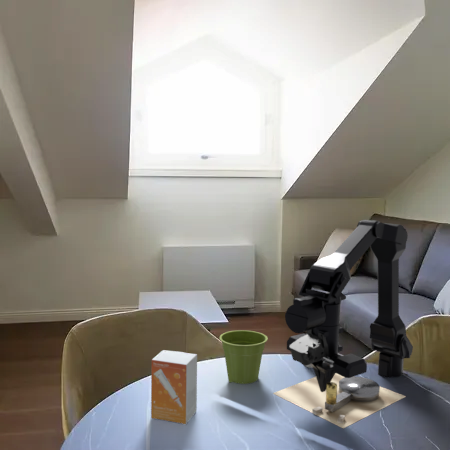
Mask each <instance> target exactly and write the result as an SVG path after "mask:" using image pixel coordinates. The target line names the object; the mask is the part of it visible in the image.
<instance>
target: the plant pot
mask: <svg viewBox="0 0 450 450" xmlns="http://www.w3.org/2000/svg"><path fill="white" fill-rule="evenodd" d="M219 340H220V342H221V344H222V350H223V352H224V359H225V366H226V373H227V379H228V380H227V381H228V382H229V383H235V384H241V385H246V384H247V385H248V384H252V383H255V382H258V380H259V375H260V368H261V365H262V359H263V351H264V350H265V345H266V342H267V341H268V335H266V334H264V333H262V332H258V331H255V330H254V331H253V330H241V329H238V330H230V331H226V332H224V333H221V334H220V336H219Z"/></svg>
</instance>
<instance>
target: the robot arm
mask: <svg viewBox="0 0 450 450" xmlns="http://www.w3.org/2000/svg"><path fill="white" fill-rule="evenodd" d="M407 241H408V231H407V229H406V228H405V227H404V225H402V224H395V223H386V222H382V221H381V222H380V221H379V220H373V219H362V220H359V221H358V223H357V225H356V228H355V229H354V230H353V231H352V232H351V233H350V234H349V236H347V237H346V239H345V240H343V242H342V243H341V244H340V246H339V247H338V248H337V249H336V250H334V252H333V253H331V254H330V255H327V256H324V257H321V258H320V259H318V260H317V261H316V262H314V263H313V264H312V265H311V267H310V268H309V270H308V273H307V275H306V276H305V280H304V282H303V284H302V287H301V288H300V290H299V291H298V296H300V297H295V298H293V300H292V301H293V302H292V303H293V304H292V305H290V306H288V307H287V309H286V311H285V313H284V318H285V319H284V320H285V324H286V325H287V327H288V329H290V331H292V332H293V333H295V334H297V335H291V336H290V337H289V338H288V339H287V340H286V350H287V351H290V353H291V357H292V360H293V361H295V362H298V363H300V364H301V365H303V366H304V365H309V364H310V365H311V366H312V367H313V368H312V369H313V372H314V374H315V377H316V378H317V381H318V384H319V388H320V391H321V392H324V391H326V385H327V383H328V382H331V380H332V378H333V376H334V375H335V373H337V374H339V375H341V376H343V377H345V378H351V377H354V376H355V377H358V376H359V375H362V374H366V373H367V367H368V364H367V363H368V362H367V361H366V359H365V358H363V357H360V356H358V355H356V354H353V353H348V354H345V355H344V354H341V353H339V352H343V348H344V347H343V345H341V344H340V342H339V341H340V334H341V333H344V326H343V327H342V326H341V301H344V300H346V299H347V295H345V293H343V291H344V290H345V288H346V287H347V285H348V283H349V282H350V280H351V271H352V269H353V267H354V266H355V265H356V263H357V262H358V261H359V260H360V259H361V257H362V256H363V255H364V254H365V253H366V251H367V250H368V249H369V248H370V250H371V252H372V254H373V255H374V257H375V258H376V260H377V316H376V318H375V319H374V321H373V322H371V323H370V324H369V330H370V332H369V340H370V343H371V349H372V351H375V352H378V365H377V366H378V368H377V375H378V376H380V377H384V378H398V377H402V376H408V377H409V374H408V373H406V372H404V361H405V359H410V358H411V356H412V353H413V350H414V347H413V344H412V342H411V341H410V340H409V338H408V336H407V329H406V328H407V327H406V324H405V323H404V321H403V320H402V318H401V316H400V313H399V312H400V310H399V309H400V305H399V304H400V303H399V300H400V297H399V296H400V295H399V288H400V287H399V286H400V285H399V284H400V283H399V279H400V275H399V274H400V273H399V269H400V267H399V265H400V263H399V262H400V261H399V260H400V258H401V256H402V255H403V253H404V252H405V251H406V249H407V248H406V247H407ZM304 332H306V333H304Z"/></svg>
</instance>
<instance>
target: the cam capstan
mask: <svg viewBox="0 0 450 450" xmlns="http://www.w3.org/2000/svg"><path fill="white" fill-rule="evenodd" d="M379 390H380V385H379V383H378V382H377V381H375V380H373V379H371V378H368V377H363V376H355V377H351V378H342V379H341V380H340V381H339V393H340V394H338V395H337V384H336V383H334V382H328V383H327V385H326V402H325V409H326V410H328V411H331V412H334V411H336V410H337V409H339V408H341V407H342V406H344V405H346V404H347V403H349V402H351V400H353V401H358V402H371V401H375V400H377V399H378V398H379Z"/></svg>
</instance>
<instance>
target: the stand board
mask: <svg viewBox="0 0 450 450" xmlns="http://www.w3.org/2000/svg"><path fill="white" fill-rule="evenodd" d="M354 377H356V376H354ZM342 378H345V377H343V376H341V375H339V374H337V373H335V375H334V376H333V378H332V380H331V382H334V383H336V384H337V395H338V394H340V393H339V381H340V380H341V379H342ZM379 386H380V385H379ZM272 394H273V395H275V396H277V397H279V398H281V399H283V400H285V401H287V402H289V403H292V404H294V405H296V406H297V407H299V408H301V409H303V410H306V411H308V412H310V413H311V414H313V415H315V416H317V417H319V418H321V419H323V420H325V421H327V422H329V423H331V424H333V425H336V426H338V427H339V428H341V429H345V428H347V427H349V426H352V425H353V424H355V423H358V422H359V421H361V420H363V419H365V418H367V417H369V416H371V415H373V414H375V413H377V412H378V411H381V410H382V409H385V408H387V407H389V406H390V405H393V404H394V403H396V402H398V401H400V400H402V399H404V398H406V397H407V396H406V395H404V394H401V393H398V392H396V391H393V390H391V389H388V388H385V387H383V386H380V390H379V398H378V399H377V400H375V401H371V402H358V401H353V400H351V402H349V403H347V404H346V405H344V406H342V407H341V408H339V409H337V410H336V411H334V412H331V411H328V410H326V409H325V402H326V391H324V392H321V391H320V388H319V384H318V381H317V378H316V376H314V377H311V378H309V379H306V380H303V381H301V382H299V383H296V384H292V385H290V386H288V387H285V388H282V389H280V390H277V391H275V392H273V393H272Z"/></svg>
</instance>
